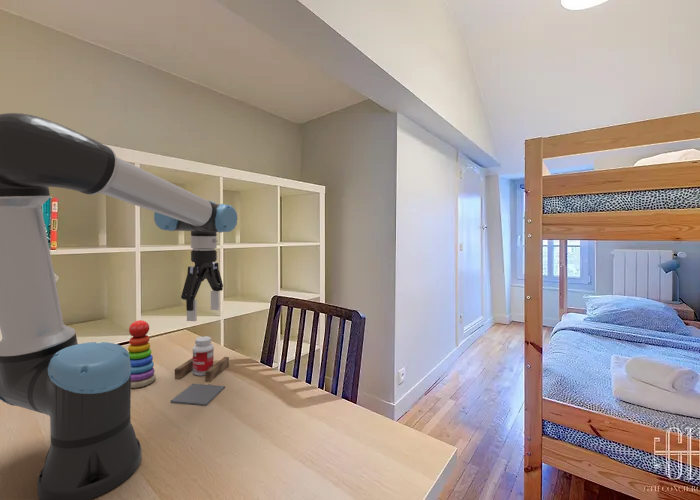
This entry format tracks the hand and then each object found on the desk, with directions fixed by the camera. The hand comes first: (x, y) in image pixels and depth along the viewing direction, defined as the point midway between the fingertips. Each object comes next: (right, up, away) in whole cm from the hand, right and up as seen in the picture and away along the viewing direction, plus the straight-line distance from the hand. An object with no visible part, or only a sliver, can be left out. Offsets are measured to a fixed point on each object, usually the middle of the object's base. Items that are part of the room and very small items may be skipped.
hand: (204, 315), depth 104 cm
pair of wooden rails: (-1, -19, +1) cm, 19 cm away
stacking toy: (-16, -19, -8) cm, 26 cm away
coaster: (+5, -20, -14) cm, 24 cm away
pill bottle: (-1, -19, +1) cm, 19 cm away
